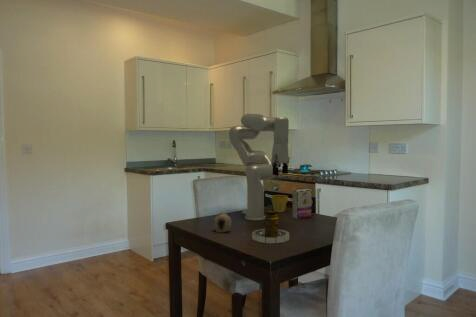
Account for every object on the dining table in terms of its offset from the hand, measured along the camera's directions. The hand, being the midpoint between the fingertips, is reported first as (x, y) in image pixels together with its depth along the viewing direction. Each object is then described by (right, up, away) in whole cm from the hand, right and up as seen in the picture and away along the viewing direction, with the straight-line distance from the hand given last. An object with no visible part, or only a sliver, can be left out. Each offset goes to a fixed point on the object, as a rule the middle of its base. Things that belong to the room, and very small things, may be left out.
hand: (280, 174), depth 196 cm
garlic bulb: (-29, -28, -8) cm, 42 cm away
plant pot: (+4, -26, +44) cm, 52 cm away
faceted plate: (-7, -29, -21) cm, 36 cm away
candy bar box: (+16, -27, +26) cm, 40 cm away
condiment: (-7, -28, -21) cm, 36 cm away
